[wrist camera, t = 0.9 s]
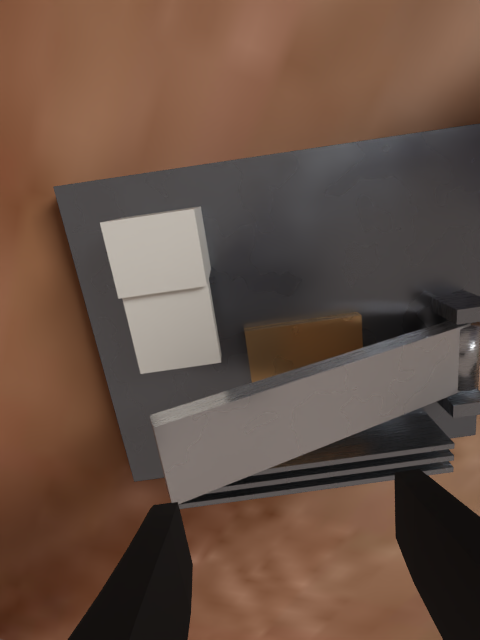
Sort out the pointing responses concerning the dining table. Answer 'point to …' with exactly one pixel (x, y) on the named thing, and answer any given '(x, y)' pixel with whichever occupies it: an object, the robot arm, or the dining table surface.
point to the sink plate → (301, 288)
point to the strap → (311, 407)
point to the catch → (165, 287)
